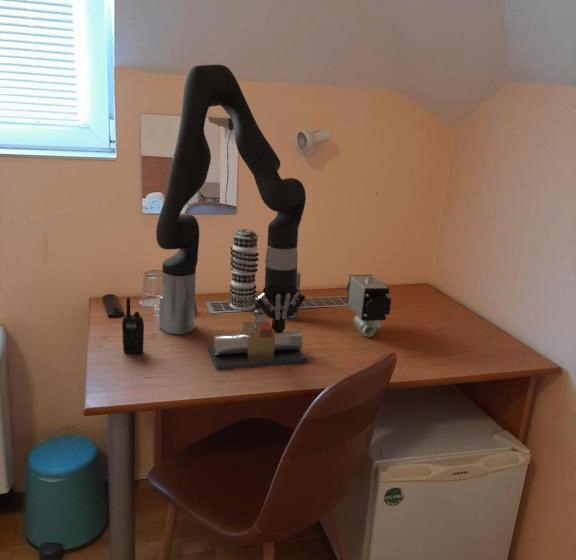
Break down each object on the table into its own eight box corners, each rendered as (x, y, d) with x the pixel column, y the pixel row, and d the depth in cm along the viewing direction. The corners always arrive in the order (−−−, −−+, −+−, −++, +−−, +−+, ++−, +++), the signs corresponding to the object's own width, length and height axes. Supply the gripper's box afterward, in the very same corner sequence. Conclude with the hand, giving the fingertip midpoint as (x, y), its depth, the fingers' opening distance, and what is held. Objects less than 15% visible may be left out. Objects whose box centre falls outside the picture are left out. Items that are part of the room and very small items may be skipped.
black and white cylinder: (222, 303, 193) (225, 229, 186) (246, 299, 199) (249, 226, 191) (237, 312, 186) (241, 235, 179) (261, 307, 192) (266, 232, 185)
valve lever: (252, 315, 153) (253, 308, 153) (264, 315, 154) (264, 308, 153) (259, 337, 140) (259, 329, 139) (271, 337, 140) (272, 329, 140)
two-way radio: (120, 353, 152) (119, 298, 147) (126, 346, 156) (125, 293, 151) (141, 355, 151) (141, 300, 147) (147, 348, 156) (146, 295, 151)
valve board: (216, 369, 146) (217, 330, 143) (208, 350, 157) (209, 312, 154) (307, 363, 154) (310, 325, 150) (293, 344, 164) (296, 309, 161)
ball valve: (390, 343, 170) (397, 285, 165) (362, 344, 168) (369, 285, 163) (367, 321, 187) (374, 267, 181) (342, 321, 184) (347, 267, 179)
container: (298, 316, 186) (302, 271, 182) (296, 321, 182) (299, 275, 177) (284, 314, 187) (287, 269, 182) (281, 320, 182) (284, 273, 178)
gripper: (260, 270, 133) (258, 341, 138) (313, 266, 138) (309, 335, 143) (249, 261, 139) (247, 329, 144) (300, 258, 144) (296, 324, 149)
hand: (278, 332), depth 144 cm, fingers closed
